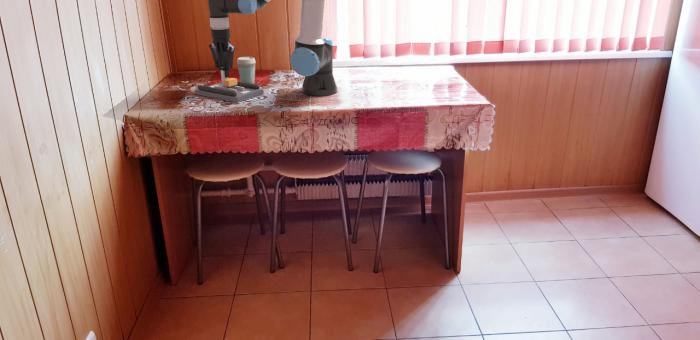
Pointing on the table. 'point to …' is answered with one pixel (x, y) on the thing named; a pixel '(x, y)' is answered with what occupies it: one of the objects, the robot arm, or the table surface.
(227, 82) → the lever
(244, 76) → the coffee cup
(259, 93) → the slide switch panel
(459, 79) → the table surface
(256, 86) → the pair of grey bars
